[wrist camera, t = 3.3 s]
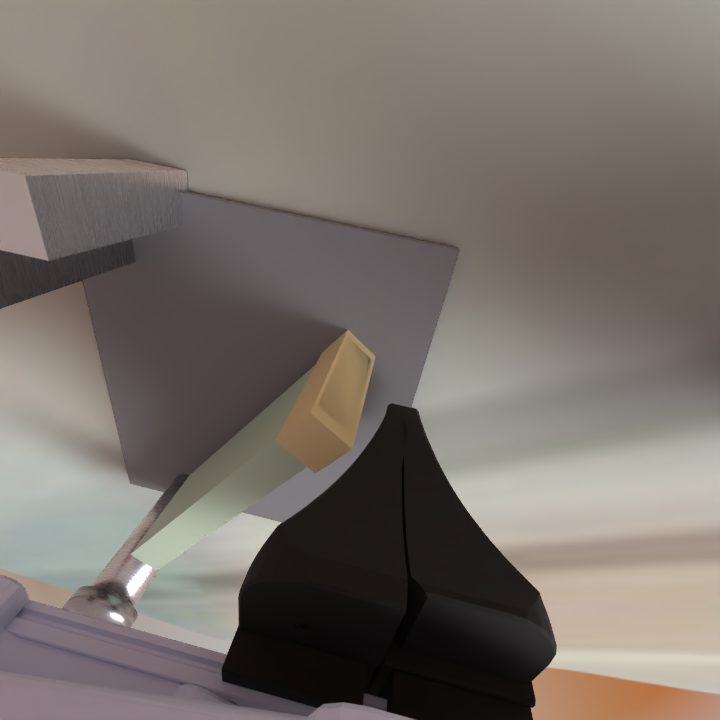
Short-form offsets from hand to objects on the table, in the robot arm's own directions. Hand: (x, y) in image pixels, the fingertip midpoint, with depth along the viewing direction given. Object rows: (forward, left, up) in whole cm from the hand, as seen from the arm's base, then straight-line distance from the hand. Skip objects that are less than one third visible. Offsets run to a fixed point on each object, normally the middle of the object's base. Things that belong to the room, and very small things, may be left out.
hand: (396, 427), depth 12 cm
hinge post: (+9, +8, -2) cm, 12 cm away
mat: (+6, +2, -2) cm, 6 cm away
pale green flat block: (+5, +2, -1) cm, 6 cm away
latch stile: (+9, -6, -2) cm, 11 cm away
